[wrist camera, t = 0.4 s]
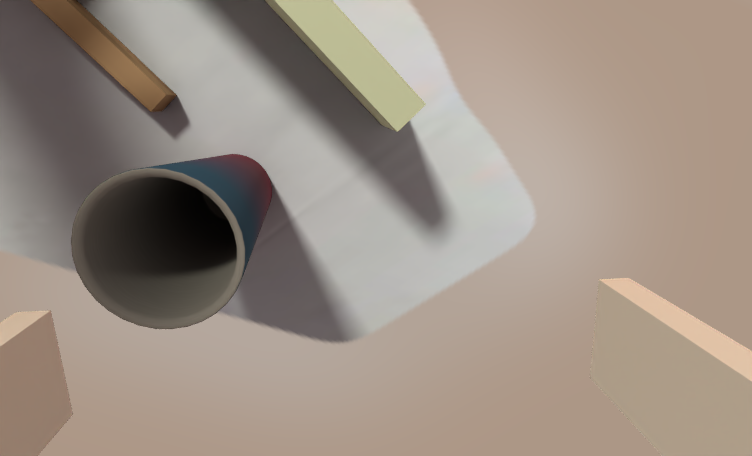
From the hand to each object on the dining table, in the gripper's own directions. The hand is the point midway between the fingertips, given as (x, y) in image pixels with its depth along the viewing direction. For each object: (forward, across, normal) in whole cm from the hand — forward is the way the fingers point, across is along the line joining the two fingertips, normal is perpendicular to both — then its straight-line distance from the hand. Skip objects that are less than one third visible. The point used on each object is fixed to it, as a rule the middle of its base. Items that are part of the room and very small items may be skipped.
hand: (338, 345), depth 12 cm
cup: (+24, -7, 0) cm, 25 cm away
